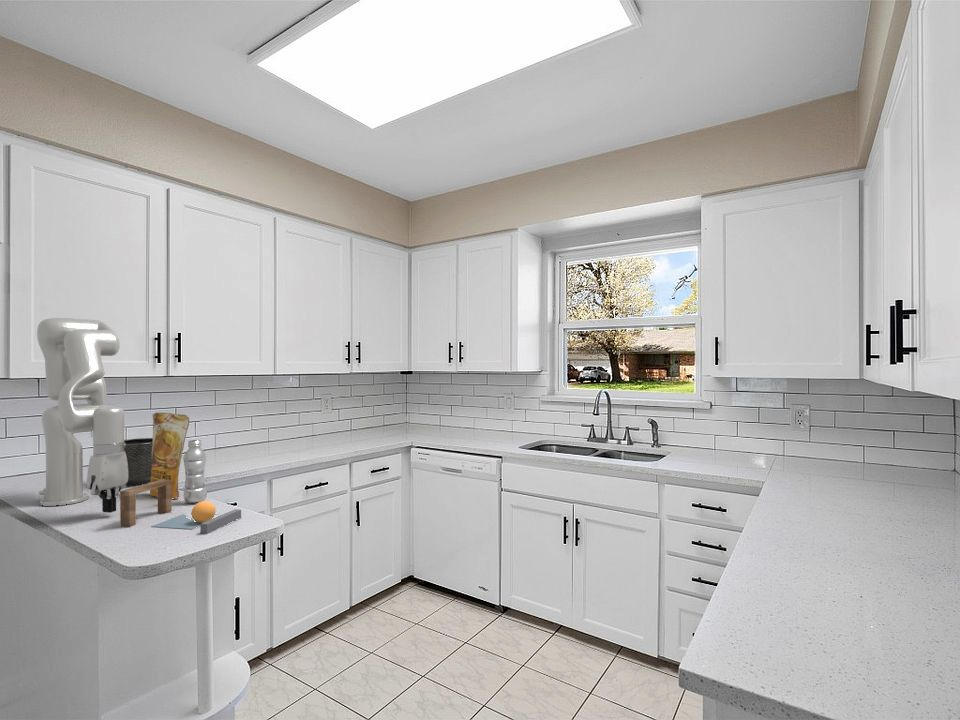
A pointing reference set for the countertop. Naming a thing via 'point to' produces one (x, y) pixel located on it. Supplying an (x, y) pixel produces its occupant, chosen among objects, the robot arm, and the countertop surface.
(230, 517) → the stopper
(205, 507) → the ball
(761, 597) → the countertop surface
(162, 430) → the pancake mix bag
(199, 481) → the plastic bottle
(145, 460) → the planter
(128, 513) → the bridge
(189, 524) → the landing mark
